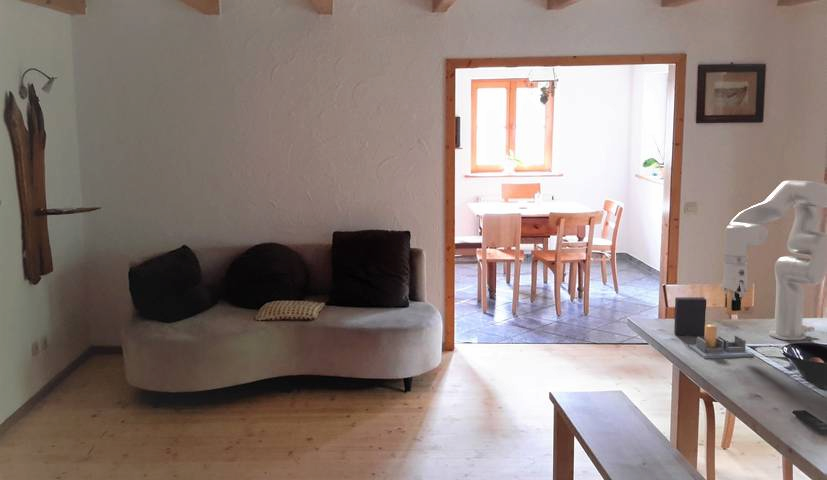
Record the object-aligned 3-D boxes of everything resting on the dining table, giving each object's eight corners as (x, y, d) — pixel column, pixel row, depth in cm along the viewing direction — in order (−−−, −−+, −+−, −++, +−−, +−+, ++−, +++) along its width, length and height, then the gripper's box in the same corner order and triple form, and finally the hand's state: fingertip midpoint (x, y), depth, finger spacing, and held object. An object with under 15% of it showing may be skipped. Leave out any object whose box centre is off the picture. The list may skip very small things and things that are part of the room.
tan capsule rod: (735, 311, 257) (736, 287, 255) (740, 314, 253) (741, 290, 251) (724, 311, 256) (725, 288, 255) (729, 314, 252) (730, 290, 251)
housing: (735, 345, 263) (736, 319, 262) (753, 356, 251) (755, 329, 249) (688, 347, 263) (689, 321, 261) (704, 358, 250) (705, 331, 248)
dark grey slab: (701, 333, 280) (703, 296, 278) (705, 336, 276) (706, 299, 273) (673, 333, 281) (674, 296, 279) (676, 336, 277) (677, 299, 274)
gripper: (757, 263, 243) (754, 314, 246) (733, 255, 260) (731, 303, 263) (736, 264, 243) (733, 315, 246) (714, 255, 260) (711, 303, 262)
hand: (732, 308), depth 254 cm, fingers closed on tan capsule rod, 4 cm apart
